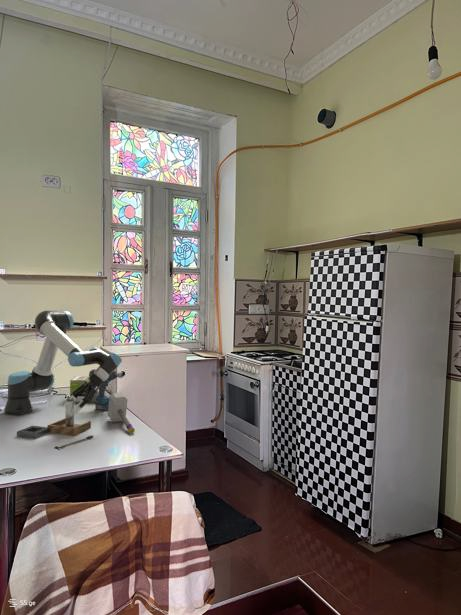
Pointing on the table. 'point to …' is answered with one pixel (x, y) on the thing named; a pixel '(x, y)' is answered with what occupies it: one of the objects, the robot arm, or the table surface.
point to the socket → (33, 432)
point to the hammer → (119, 410)
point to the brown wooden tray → (68, 428)
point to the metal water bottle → (69, 412)
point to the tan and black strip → (73, 442)
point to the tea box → (78, 385)
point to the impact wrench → (101, 398)
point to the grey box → (95, 396)
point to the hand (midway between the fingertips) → (69, 409)
